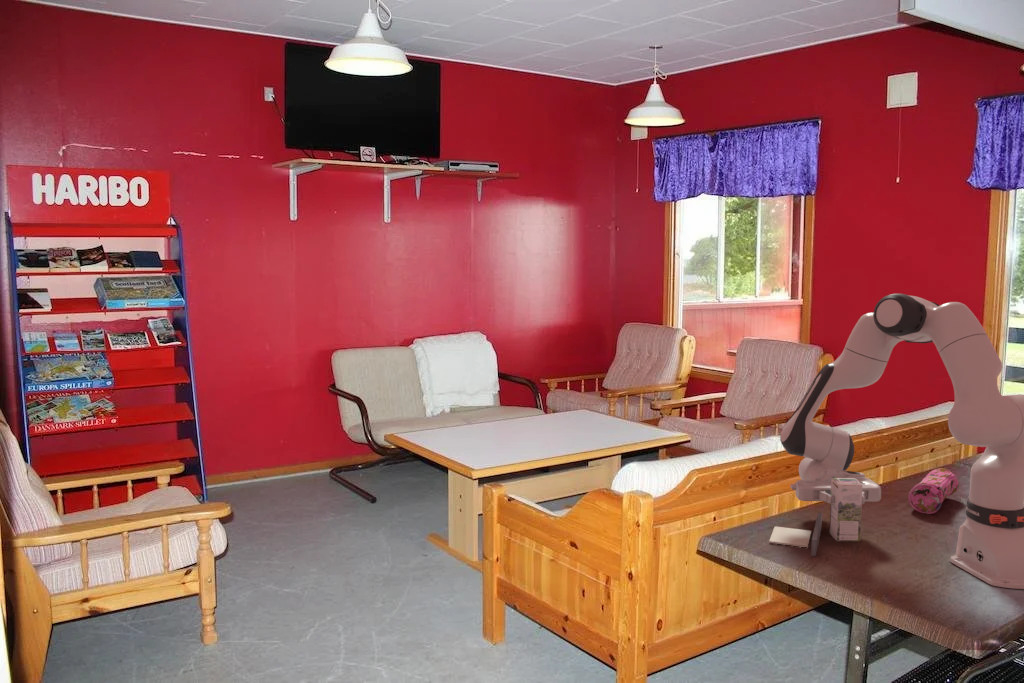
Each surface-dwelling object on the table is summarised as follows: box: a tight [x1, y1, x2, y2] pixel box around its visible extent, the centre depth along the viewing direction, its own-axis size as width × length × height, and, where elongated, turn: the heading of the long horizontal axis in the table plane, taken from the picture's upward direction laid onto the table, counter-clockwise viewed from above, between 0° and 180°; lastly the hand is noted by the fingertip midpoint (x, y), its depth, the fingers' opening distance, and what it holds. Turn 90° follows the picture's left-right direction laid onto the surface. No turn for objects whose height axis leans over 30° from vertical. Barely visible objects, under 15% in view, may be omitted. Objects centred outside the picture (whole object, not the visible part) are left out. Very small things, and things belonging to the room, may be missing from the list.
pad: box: [768, 525, 812, 549], centre depth 217 cm, size 9×12×1 cm
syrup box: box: [829, 478, 863, 542], centre depth 211 cm, size 6×6×14 cm
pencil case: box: [907, 467, 960, 515], centre depth 243 cm, size 21×9×9 cm, turn 142°
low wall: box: [810, 512, 823, 557], centre depth 214 cm, size 1×22×4 cm, turn 157°
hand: (847, 500), depth 210 cm, fingers closed on syrup box, 6 cm apart
